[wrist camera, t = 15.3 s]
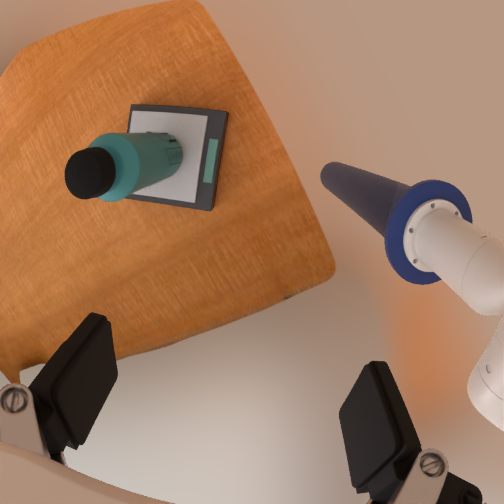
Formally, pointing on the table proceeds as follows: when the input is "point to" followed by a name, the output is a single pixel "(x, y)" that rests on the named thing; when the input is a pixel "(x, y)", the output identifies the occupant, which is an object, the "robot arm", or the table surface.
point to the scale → (184, 153)
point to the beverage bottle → (122, 164)
